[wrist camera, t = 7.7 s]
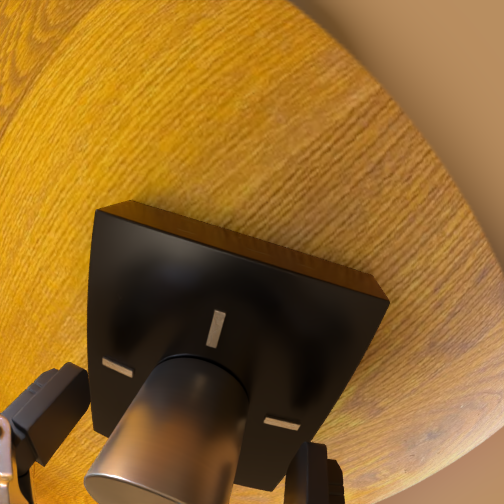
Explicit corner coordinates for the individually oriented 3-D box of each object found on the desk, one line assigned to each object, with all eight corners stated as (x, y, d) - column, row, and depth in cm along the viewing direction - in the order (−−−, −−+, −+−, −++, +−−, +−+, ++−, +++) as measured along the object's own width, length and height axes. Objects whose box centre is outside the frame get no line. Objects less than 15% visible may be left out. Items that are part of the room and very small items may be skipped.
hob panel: (129, 199, 12) (91, 209, 9) (373, 274, 11) (393, 304, 9) (112, 403, 15) (92, 432, 13) (275, 458, 15) (271, 494, 12)
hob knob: (148, 413, 11) (91, 516, 6) (150, 342, 10) (63, 461, 5) (238, 440, 11) (210, 557, 6) (260, 374, 10) (231, 524, 5)
